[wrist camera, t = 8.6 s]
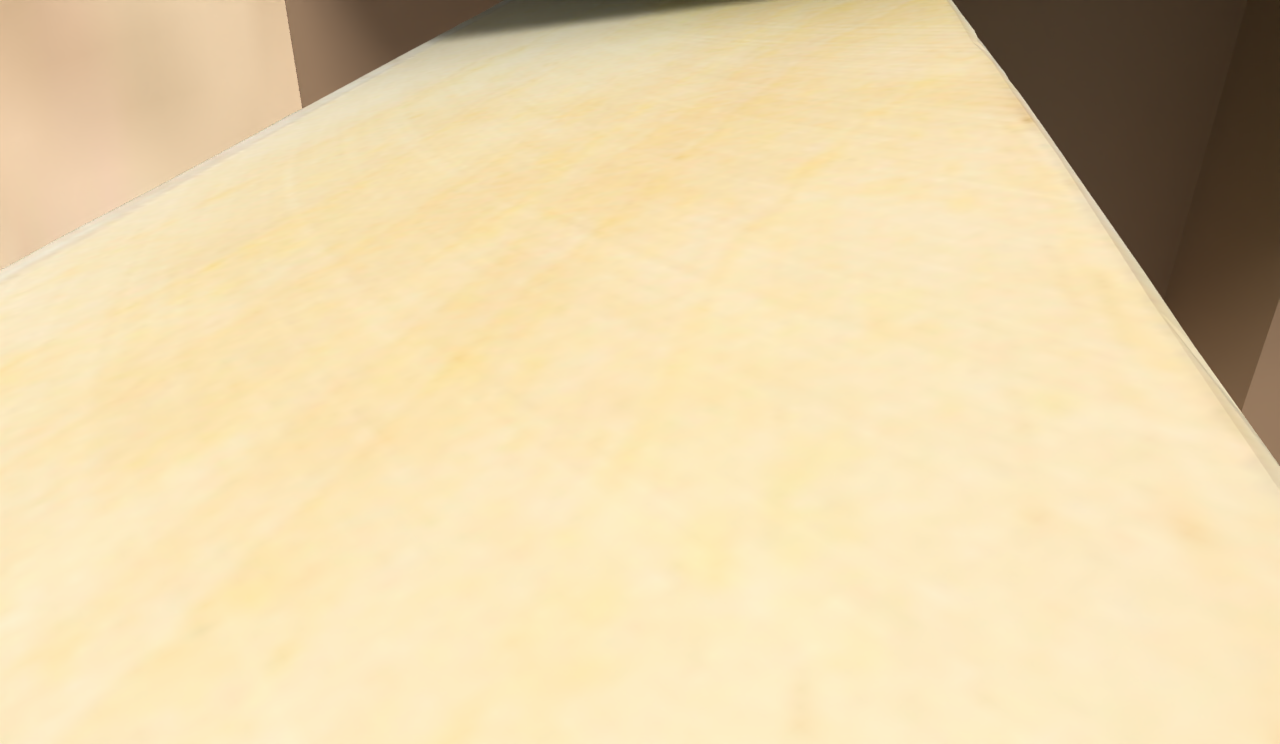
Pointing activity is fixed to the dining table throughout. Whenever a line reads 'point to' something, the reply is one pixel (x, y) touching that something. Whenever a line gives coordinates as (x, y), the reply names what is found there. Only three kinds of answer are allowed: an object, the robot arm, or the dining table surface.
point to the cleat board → (1061, 139)
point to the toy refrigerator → (629, 416)
